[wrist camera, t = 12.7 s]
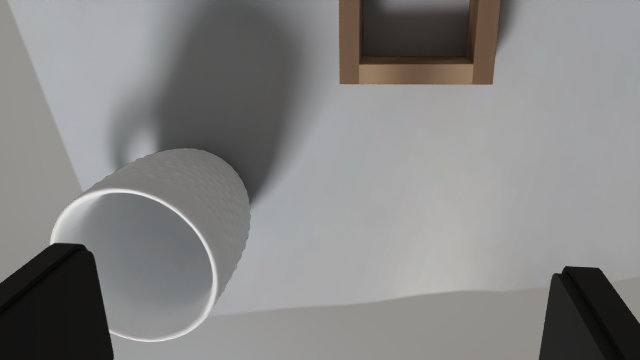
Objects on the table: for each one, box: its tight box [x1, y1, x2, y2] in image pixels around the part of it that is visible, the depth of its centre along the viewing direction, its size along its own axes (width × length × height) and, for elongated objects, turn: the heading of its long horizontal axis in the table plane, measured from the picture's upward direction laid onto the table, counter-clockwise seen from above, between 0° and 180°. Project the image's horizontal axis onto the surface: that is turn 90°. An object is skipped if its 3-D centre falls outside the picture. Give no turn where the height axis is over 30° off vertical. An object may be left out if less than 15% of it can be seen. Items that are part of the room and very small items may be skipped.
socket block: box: [339, 0, 501, 85], centre depth 35 cm, size 10×10×4 cm
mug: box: [49, 148, 251, 342], centre depth 38 cm, size 15×11×13 cm
